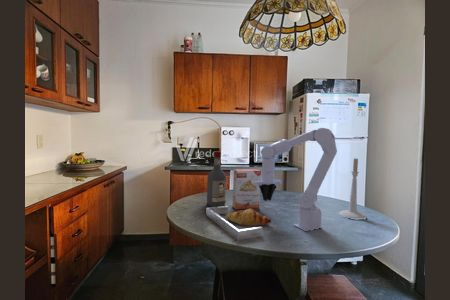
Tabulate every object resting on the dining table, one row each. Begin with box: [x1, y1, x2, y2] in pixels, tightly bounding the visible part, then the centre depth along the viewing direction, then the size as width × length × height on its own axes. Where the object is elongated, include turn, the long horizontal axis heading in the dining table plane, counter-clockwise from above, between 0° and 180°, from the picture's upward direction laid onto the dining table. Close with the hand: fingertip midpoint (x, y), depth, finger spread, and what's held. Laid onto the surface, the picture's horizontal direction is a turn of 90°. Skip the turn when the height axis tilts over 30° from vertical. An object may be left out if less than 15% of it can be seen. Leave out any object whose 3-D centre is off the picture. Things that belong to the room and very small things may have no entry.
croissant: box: [225, 208, 272, 227], centre depth 120 cm, size 21×10×8 cm, turn 73°
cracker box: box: [232, 168, 262, 210], centre depth 144 cm, size 14×6×21 cm, turn 105°
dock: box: [205, 205, 264, 241], centre depth 117 cm, size 11×33×4 cm, turn 25°
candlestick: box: [338, 158, 367, 218], centre depth 133 cm, size 13×13×30 cm
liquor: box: [206, 150, 227, 207], centre depth 148 cm, size 9×9×30 cm
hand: (267, 200), depth 124 cm, fingers closed
